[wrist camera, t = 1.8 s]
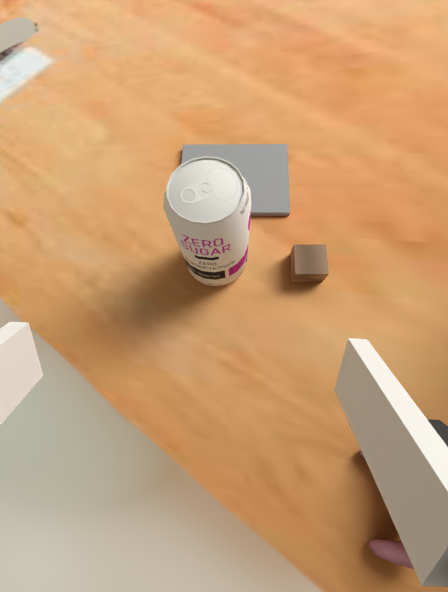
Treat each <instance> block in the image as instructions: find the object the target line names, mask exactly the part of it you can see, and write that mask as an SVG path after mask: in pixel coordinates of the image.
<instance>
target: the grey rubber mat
mask: <svg viewBox="0 0 448 592" xmlns="http://www.w3.org/2000/svg"><path fill="white" fill-rule="evenodd" d="M203 156H209V157H219V158H221V159H224V160H226V161H229V162H230V163H232V164H233V165H234V166H235V167H236V168H237V169H238V170H239V171H240V173H241V175H242V176H243V177H244V179H245V180H246V182H247V184H248V186H249V188H250V191H251V214H250V216H289V214H290V204H289V177H288V150H287V144H238V145H183V151H182V161H181V164H183V163H185V162H187V161H189V160H191V159H194V158H199V157H203Z"/></svg>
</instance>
